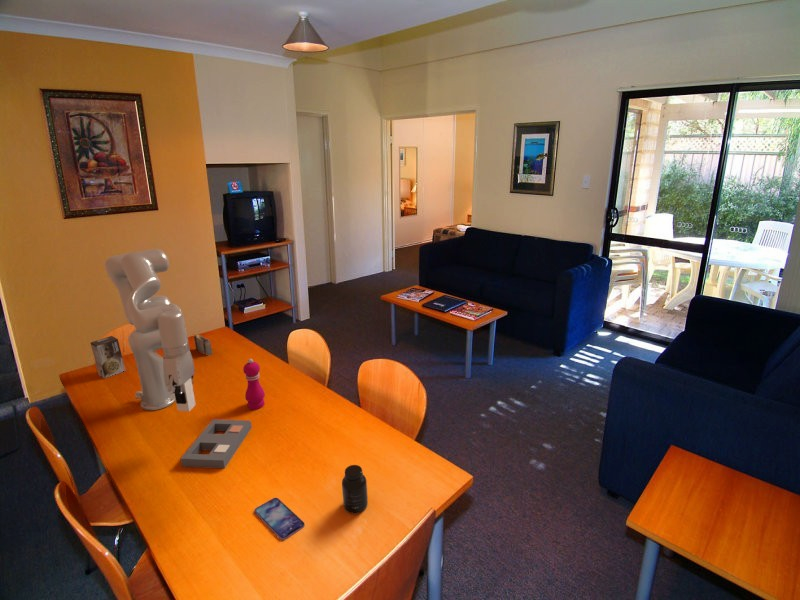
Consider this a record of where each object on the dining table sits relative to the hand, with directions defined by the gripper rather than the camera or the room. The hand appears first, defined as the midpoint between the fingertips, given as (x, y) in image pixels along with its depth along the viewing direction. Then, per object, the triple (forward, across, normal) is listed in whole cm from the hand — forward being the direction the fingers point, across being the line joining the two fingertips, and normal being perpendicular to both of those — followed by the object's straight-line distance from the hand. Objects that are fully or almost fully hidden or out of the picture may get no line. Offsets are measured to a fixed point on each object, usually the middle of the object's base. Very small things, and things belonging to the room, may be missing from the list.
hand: (185, 399), depth 152 cm
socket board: (+17, 0, +9) cm, 20 cm away
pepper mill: (+18, -26, +11) cm, 33 cm away
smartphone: (+18, +29, +41) cm, 54 cm away
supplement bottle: (+18, +23, +61) cm, 67 cm away
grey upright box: (+18, -71, -35) cm, 81 cm away
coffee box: (+17, -46, -65) cm, 82 cm away
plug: (+3, 0, 0) cm, 3 cm away
